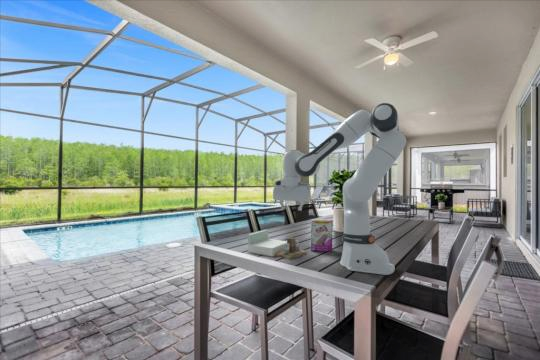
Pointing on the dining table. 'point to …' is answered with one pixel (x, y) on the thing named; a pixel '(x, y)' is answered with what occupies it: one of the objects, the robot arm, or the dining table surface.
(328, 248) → the candy bar box
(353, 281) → the dining table surface
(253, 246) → the white l-shaped block
